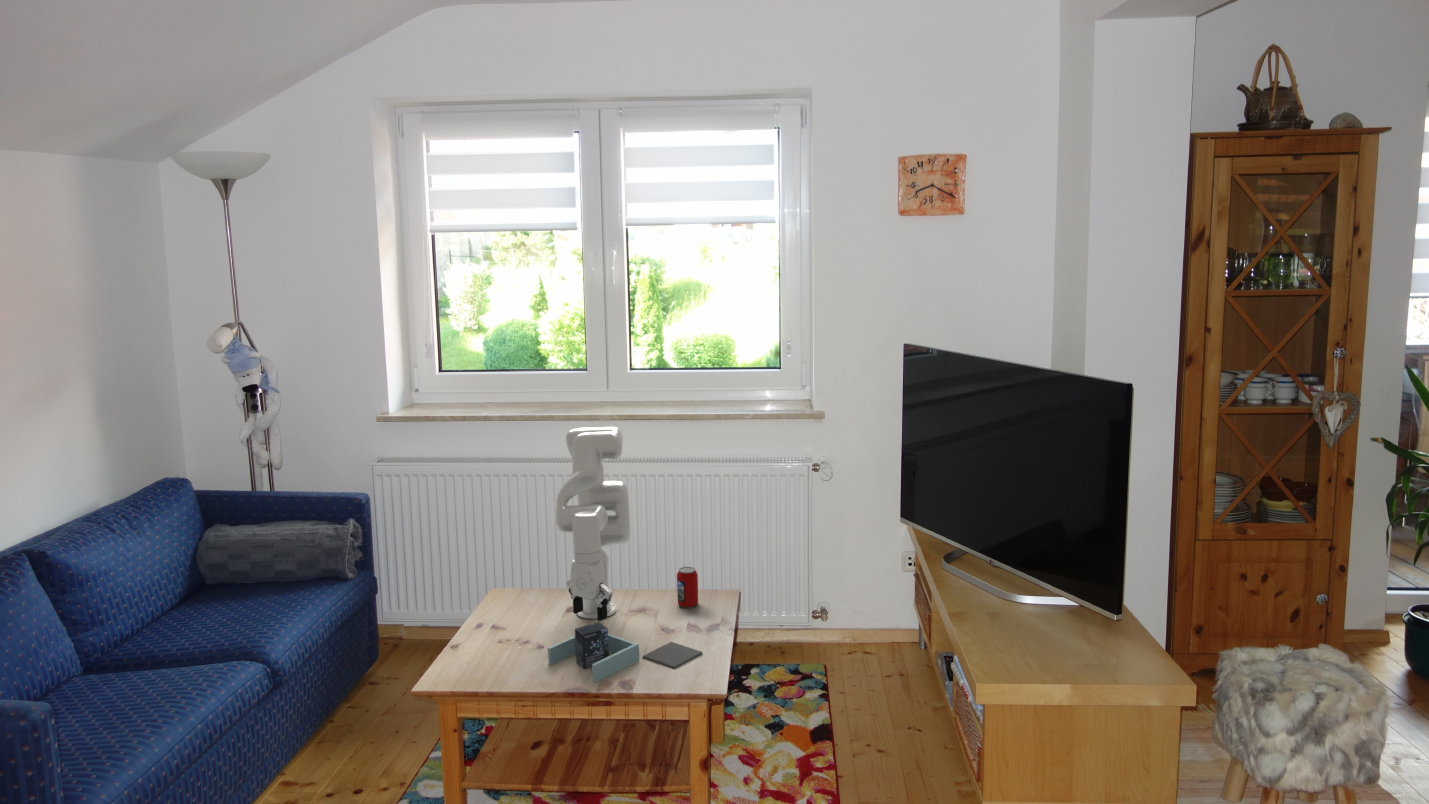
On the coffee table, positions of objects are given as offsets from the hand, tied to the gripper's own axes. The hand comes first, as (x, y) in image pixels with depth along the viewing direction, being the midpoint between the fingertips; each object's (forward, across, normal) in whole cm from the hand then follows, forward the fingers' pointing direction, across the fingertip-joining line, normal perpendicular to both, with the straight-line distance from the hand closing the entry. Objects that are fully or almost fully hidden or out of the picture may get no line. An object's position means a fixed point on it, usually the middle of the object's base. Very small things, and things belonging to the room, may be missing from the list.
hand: (590, 615), depth 260 cm
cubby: (+14, -1, +1) cm, 14 cm away
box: (+14, -1, +1) cm, 15 cm away
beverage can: (+14, -8, +50) cm, 52 cm away
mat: (+14, +14, +18) cm, 27 cm away
